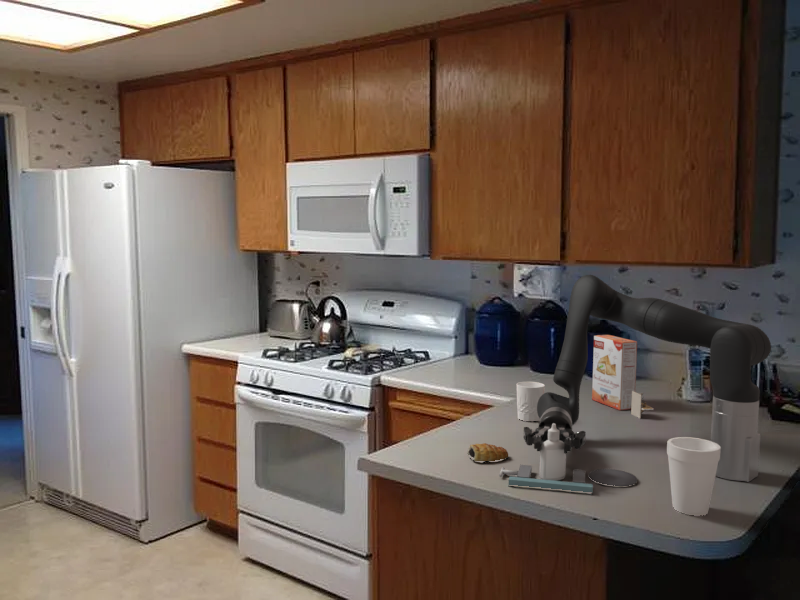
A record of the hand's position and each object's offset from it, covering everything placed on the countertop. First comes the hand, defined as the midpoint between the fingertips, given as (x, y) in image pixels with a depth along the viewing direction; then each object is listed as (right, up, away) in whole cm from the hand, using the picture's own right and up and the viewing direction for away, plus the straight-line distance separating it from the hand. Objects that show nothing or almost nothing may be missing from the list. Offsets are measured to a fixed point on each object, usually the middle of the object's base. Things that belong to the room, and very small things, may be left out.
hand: (552, 447), depth 153 cm
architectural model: (+37, -3, +58) cm, 69 cm away
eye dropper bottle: (+1, -7, +3) cm, 8 cm away
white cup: (+5, -3, +53) cm, 54 cm away
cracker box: (+33, -1, +71) cm, 79 cm away
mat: (+14, -8, +4) cm, 16 cm away
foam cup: (+24, -10, -12) cm, 29 cm away
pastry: (-12, -7, +18) cm, 22 cm away
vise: (-1, -8, +3) cm, 8 cm away
